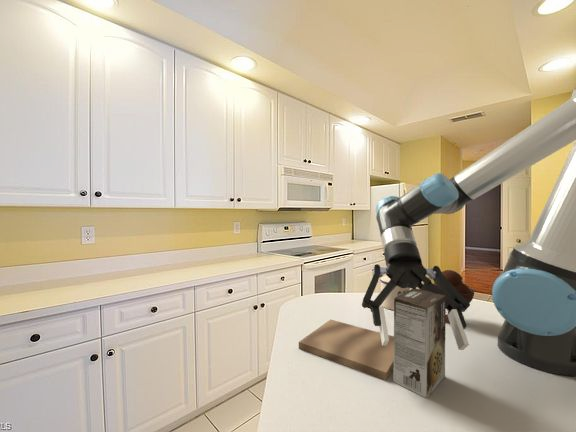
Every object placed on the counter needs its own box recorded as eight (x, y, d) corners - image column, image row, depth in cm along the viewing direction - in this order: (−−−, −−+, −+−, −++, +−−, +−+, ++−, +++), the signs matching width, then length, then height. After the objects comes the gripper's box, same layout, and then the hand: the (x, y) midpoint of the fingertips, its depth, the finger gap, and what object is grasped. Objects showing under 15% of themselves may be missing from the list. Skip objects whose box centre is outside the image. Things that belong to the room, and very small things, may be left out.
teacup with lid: (397, 313, 85) (397, 276, 84) (374, 304, 93) (374, 270, 92) (420, 306, 91) (421, 271, 91) (397, 298, 99) (397, 266, 98)
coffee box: (412, 363, 57) (413, 287, 57) (446, 377, 53) (447, 294, 52) (391, 381, 51) (392, 296, 51) (427, 399, 47) (429, 306, 46)
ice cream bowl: (481, 330, 73) (482, 274, 72) (436, 327, 75) (437, 272, 75) (464, 315, 83) (465, 266, 83) (424, 312, 85) (425, 265, 85)
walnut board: (406, 346, 65) (406, 339, 65) (386, 380, 52) (386, 372, 52) (330, 324, 76) (330, 319, 76) (298, 348, 64) (298, 341, 63)
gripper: (450, 260, 65) (488, 355, 51) (345, 258, 68) (352, 348, 54) (463, 241, 60) (508, 341, 46) (347, 239, 63) (356, 334, 48)
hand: (424, 345), depth 50 cm, fingers open, 13 cm apart
